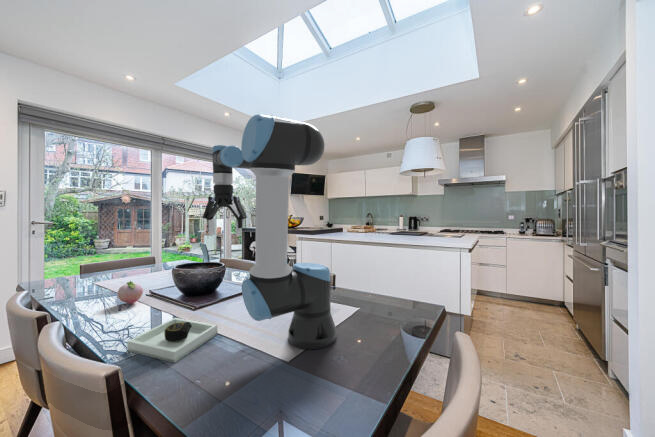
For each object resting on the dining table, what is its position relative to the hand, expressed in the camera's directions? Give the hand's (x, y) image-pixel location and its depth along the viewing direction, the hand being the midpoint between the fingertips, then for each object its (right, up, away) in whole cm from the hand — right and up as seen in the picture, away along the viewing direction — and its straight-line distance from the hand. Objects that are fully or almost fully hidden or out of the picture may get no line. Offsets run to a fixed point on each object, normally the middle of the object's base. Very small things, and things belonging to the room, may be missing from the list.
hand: (225, 235), depth 110 cm
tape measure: (-3, -30, -28) cm, 41 cm away
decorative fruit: (-40, -29, +1) cm, 50 cm away
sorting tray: (-4, -31, -29) cm, 43 cm away
